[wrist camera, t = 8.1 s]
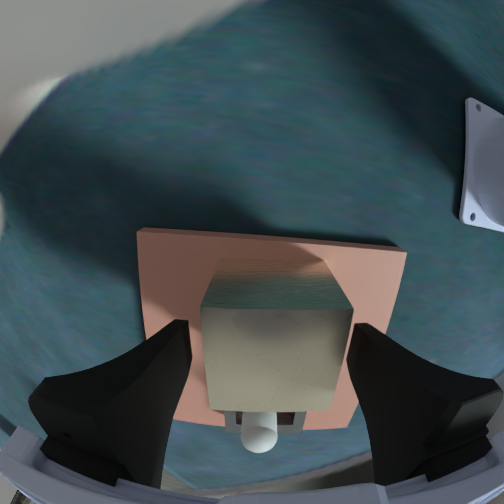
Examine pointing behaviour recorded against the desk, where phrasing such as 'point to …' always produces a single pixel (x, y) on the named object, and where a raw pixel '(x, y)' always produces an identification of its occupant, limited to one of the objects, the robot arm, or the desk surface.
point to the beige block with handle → (273, 339)
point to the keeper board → (258, 247)
